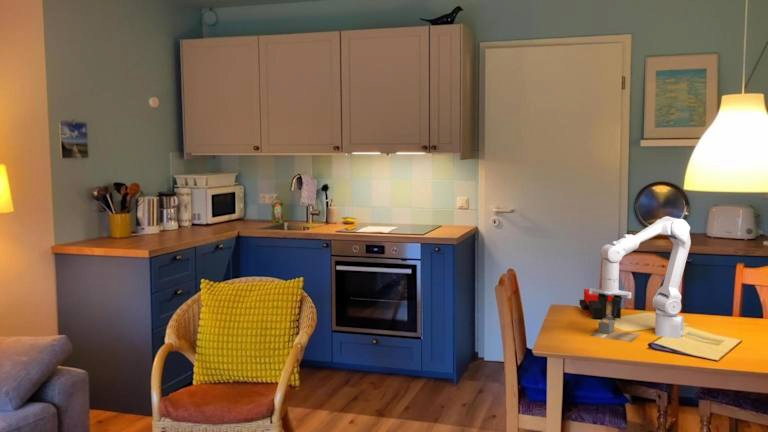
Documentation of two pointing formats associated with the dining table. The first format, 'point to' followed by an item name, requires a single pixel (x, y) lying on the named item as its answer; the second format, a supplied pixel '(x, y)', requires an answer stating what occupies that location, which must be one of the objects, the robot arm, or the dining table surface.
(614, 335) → the subfloor panel
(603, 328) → the block
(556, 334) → the dining table surface
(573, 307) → the dining table surface
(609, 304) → the tan capsule cylinder
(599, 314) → the red-and-black block model
